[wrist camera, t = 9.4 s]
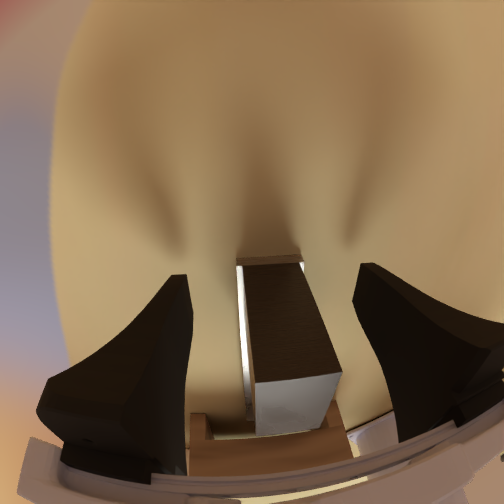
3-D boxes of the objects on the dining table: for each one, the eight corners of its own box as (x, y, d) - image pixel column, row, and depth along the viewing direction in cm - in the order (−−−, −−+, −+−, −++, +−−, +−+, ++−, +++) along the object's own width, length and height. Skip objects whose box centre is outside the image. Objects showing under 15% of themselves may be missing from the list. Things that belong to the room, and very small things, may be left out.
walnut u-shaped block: (190, 413, 20) (188, 479, 14) (336, 400, 20) (354, 460, 15) (205, 446, 24) (206, 496, 18) (319, 436, 24) (330, 483, 19)
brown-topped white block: (235, 256, 13) (246, 383, 7) (300, 252, 13) (350, 369, 7) (246, 413, 20) (253, 486, 14) (282, 409, 20) (294, 482, 15)
